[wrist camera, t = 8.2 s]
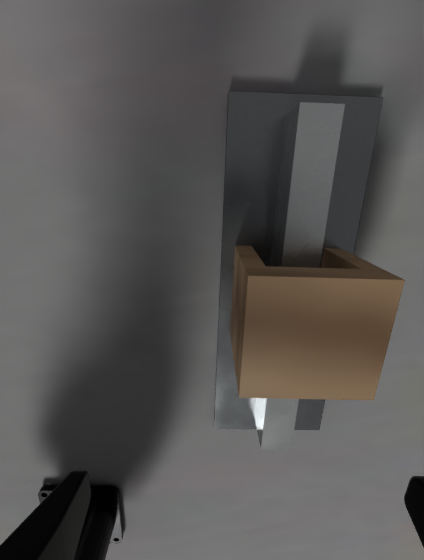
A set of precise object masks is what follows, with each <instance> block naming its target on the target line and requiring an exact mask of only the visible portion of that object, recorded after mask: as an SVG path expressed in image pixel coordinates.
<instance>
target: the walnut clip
mask: <svg viewBox="0 0 424 560" xmlns="http://www.w3.org/2000/svg"><path fill="white" fill-rule="evenodd" d="M404 281H405V280H404V279H402V278H400V277H398V276H395V275H393V274H391V273H389V272H387V271H385V270H383V269H381V268H379V267H377V266H375V265H373V264H371V263H369V262H367V261H365V260H363V259H361V258H359V257H357V256H355V255H353V254H351V253H348V252H346V251H344V250H342V249H337V248H324V252H323V258H322V265H321V268H306V267H270V266H265V264H264V263H263V262H262V260H261V259H260V257H259V256H258V254H257V253H256V252H255V250H254V249H253V247H252V246H235V254H234V271H233V288H232V306H231V323H230V339H231V346H232V353H233V360H234V367H235V374H236V381H237V388H238V395H239V398H276V399H333V400H374V398H375V394H376V390H377V386H378V382H379V378H380V374H381V370H382V367H383V363H384V359H385V355H386V351H387V347H388V343H389V339H390V336H391V332H392V328H393V324H394V320H395V316H396V312H397V308H398V305H399V301H400V297H401V293H402V289H403V285H404Z"/></svg>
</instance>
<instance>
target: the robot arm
mask: <svg viewBox="0 0 424 560" xmlns="http://www.w3.org/2000/svg"><path fill="white" fill-rule="evenodd" d="M38 496H39V501H40V505H39V506H38V507H37V508H36V509H35V510H34V511H33V512H32V513H31V514H30V515H29V516H28V517H27V518H26V519H25V520H24V521H23V522H22V523H21V524H20V525H19V527H18V528H17V529H16V530H15V531H14V532H13V533H12V534H11V535H10V536H9V537H8V538H7V539H6V540H5V541H4V542H3V543H2V544H1V545H0V560H105V558H106V554H107V550H108V547H109V543H120V542H121V541H122V538H123V526H122V515H121V505H120V495H119V489H118V488H116V487H113V486H90V481H89V474H88V472H87V471H72V472H71V473H70V474H69V475H68V476H67V477H66V478H65V479H64V480H63V481H62V482H61V483H60V484H59V485H58V486H43V487H42V488H41V489H40V491H39V493H38ZM404 500H405V505H406V508H407V510H408V513H409V515H410V517H411V519H412V522H413V524H414V526H415V529H416V531H417V533H418V536H419V538H420V540H421V542H422V545H423V547H424V476H413V477H411V479H410V481H409V484H408V487H407V490H406V493H405V496H404Z"/></svg>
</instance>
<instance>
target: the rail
mask: <svg viewBox="0 0 424 560" xmlns="http://www.w3.org/2000/svg"><path fill="white" fill-rule="evenodd" d="M382 101H383V97H360V96H336V95H311V94H287V93H262V92H238V91H229V93H228V110H227V133H226V156H225V179H224V202H223V226H222V249H221V272H220V295H219V318H218V342H217V365H216V388H215V411H214V428H219V429H257V432H258V437H259V442H260V447H261V449H291V447H292V440H293V434H294V430H319V429H320V424H321V419H322V413H323V408H324V403H325V399H276V398H239V395H238V388H237V381H236V374H235V367H234V360H233V353H232V346H231V339H230V323H231V306H232V288H233V271H234V254H235V246H252V247H253V249H254V250H255V252H256V253H257V254H258V256H259V257H260V259H261V260H262V262H263V263H264V264H265V266H270V267H306V268H321V265H322V258H323V252H324V248H337V249H342V250H344V251H346V252H348V253H351V254H353V252H354V247H355V241H356V236H357V231H358V226H359V221H360V215H361V210H362V205H363V200H364V195H365V189H366V184H367V179H368V174H369V169H370V163H371V158H372V153H373V148H374V142H375V137H376V132H377V127H378V122H379V116H380V111H381V106H382Z"/></svg>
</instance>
